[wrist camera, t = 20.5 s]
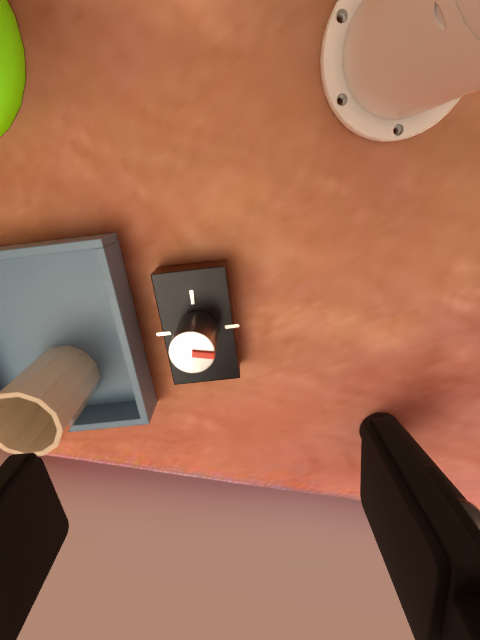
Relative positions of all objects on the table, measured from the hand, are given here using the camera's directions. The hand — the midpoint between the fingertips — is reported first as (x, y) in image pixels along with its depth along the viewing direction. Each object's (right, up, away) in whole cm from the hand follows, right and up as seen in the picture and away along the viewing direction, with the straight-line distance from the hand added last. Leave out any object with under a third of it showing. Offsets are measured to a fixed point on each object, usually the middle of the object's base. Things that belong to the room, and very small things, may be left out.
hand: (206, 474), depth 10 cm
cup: (-18, -1, +28) cm, 33 cm away
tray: (-19, +3, +27) cm, 33 cm away
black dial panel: (-3, +5, +26) cm, 27 cm away
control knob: (-3, +4, +24) cm, 24 cm away
